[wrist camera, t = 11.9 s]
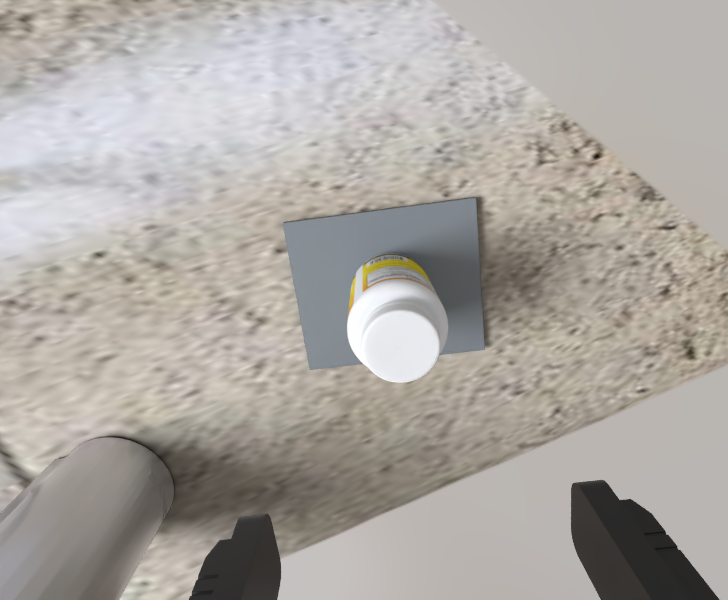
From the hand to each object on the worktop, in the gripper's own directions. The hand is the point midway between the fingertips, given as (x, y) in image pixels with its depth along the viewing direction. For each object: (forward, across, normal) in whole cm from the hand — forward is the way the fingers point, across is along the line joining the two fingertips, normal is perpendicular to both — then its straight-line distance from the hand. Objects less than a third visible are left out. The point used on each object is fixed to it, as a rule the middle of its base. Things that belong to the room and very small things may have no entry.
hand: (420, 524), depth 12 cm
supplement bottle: (+22, 0, 0) cm, 22 cm away
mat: (+22, 0, 0) cm, 22 cm away
